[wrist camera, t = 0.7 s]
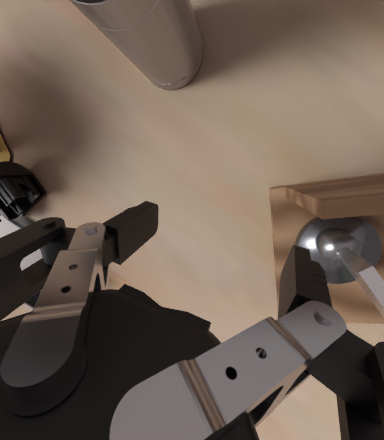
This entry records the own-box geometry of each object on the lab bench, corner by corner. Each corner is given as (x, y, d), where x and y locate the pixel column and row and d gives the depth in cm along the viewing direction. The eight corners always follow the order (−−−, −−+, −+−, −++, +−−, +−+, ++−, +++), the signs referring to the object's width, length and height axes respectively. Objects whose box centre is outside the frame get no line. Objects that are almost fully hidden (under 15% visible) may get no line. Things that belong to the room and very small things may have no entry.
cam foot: (281, 237, 31) (298, 266, 22) (347, 197, 28) (400, 211, 19) (355, 337, 32) (401, 405, 23) (428, 309, 29) (516, 375, 20)
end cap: (26, 161, 40) (-14, 159, 34) (49, 191, 41) (13, 195, 34) (0, 190, 44) (-41, 193, 37) (21, 218, 44) (-16, 226, 38)
